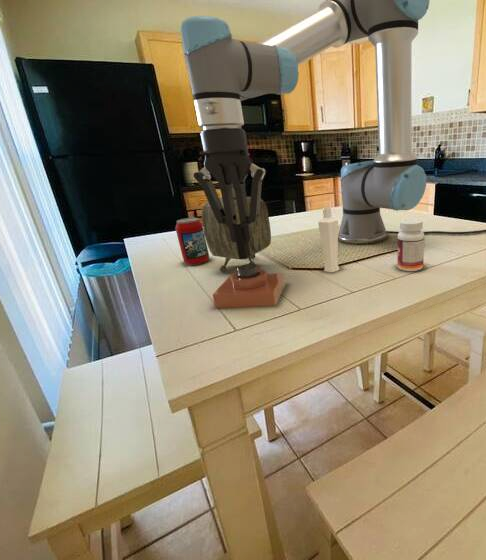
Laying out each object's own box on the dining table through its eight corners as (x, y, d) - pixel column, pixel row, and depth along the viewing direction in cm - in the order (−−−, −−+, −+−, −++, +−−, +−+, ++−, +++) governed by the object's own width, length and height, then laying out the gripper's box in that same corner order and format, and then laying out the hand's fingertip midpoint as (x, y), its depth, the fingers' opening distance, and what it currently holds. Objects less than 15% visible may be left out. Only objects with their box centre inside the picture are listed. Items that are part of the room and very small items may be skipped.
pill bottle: (398, 262, 84) (398, 218, 80) (423, 263, 83) (424, 218, 79) (396, 271, 79) (396, 224, 75) (423, 272, 78) (425, 224, 73)
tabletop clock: (253, 256, 96) (237, 165, 87) (277, 260, 92) (264, 164, 83) (213, 273, 85) (190, 170, 75) (239, 278, 81) (218, 169, 71)
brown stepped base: (285, 285, 75) (282, 264, 73) (275, 305, 66) (271, 282, 64) (232, 287, 76) (228, 267, 74) (215, 308, 66) (210, 284, 64)
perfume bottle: (338, 272, 80) (334, 210, 75) (321, 272, 81) (315, 210, 76) (342, 266, 84) (339, 206, 79) (326, 266, 85) (321, 206, 80)
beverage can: (195, 267, 90) (184, 223, 86) (179, 264, 94) (168, 221, 89) (215, 259, 96) (206, 217, 91) (199, 256, 99) (190, 216, 95)
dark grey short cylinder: (261, 272, 71) (259, 263, 70) (255, 279, 67) (254, 269, 66) (242, 272, 71) (240, 263, 70) (236, 280, 67) (234, 270, 66)
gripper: (175, 129, 55) (205, 264, 64) (253, 125, 55) (272, 261, 64) (195, 131, 62) (220, 252, 71) (264, 127, 62) (281, 250, 70)
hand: (245, 257), depth 67 cm, fingers closed
